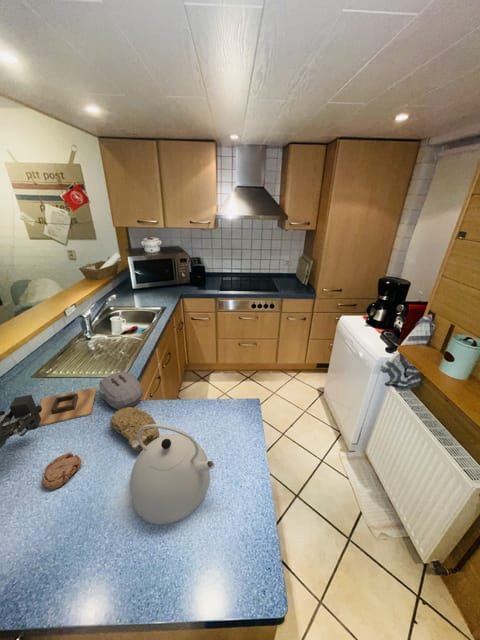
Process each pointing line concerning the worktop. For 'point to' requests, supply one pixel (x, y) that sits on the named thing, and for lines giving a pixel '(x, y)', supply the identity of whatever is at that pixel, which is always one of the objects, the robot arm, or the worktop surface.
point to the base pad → (67, 406)
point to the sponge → (134, 426)
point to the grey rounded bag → (121, 390)
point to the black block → (24, 409)
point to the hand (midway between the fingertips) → (31, 405)
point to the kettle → (169, 477)
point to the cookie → (60, 470)
